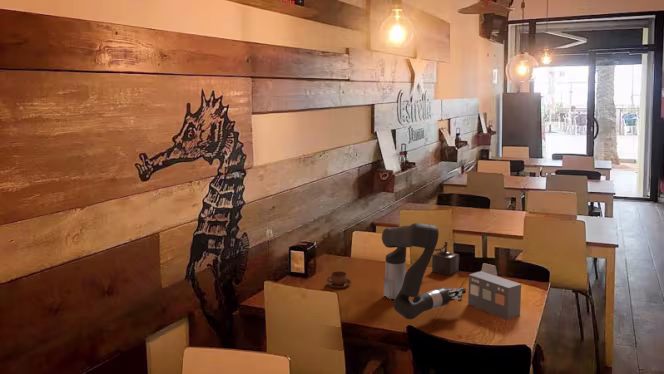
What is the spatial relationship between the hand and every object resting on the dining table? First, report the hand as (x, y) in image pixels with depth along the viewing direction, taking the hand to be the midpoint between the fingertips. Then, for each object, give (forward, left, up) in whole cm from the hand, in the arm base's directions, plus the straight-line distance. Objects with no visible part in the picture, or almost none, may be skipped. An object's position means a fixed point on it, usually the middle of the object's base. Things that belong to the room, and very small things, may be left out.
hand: (464, 290), depth 260 cm
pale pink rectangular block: (+32, +23, -10) cm, 40 cm away
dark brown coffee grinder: (+22, +48, -10) cm, 53 cm away
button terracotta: (+10, -13, -3) cm, 17 cm away
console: (+12, -5, -9) cm, 16 cm away
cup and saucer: (-35, +54, -10) cm, 65 cm away
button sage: (+9, -6, -3) cm, 11 cm away
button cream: (+8, +1, -4) cm, 9 cm away
